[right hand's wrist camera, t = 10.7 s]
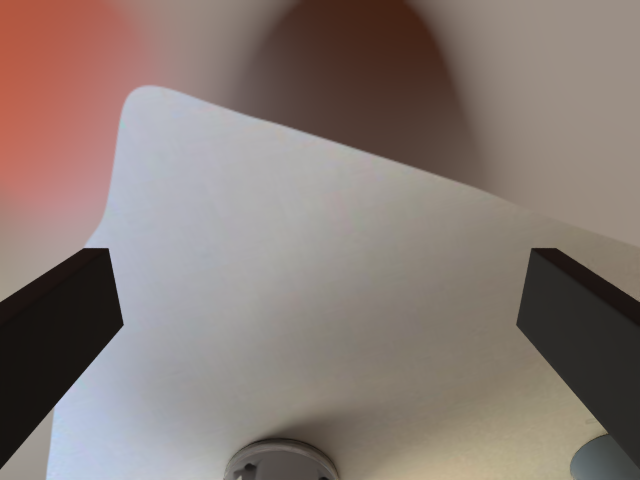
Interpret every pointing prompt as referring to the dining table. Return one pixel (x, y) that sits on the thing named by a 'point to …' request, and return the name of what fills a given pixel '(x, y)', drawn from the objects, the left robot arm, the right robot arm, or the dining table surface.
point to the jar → (603, 462)
